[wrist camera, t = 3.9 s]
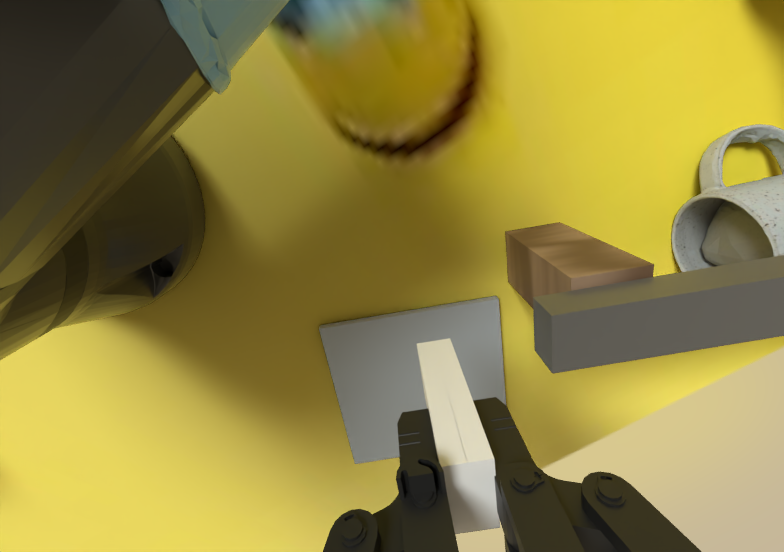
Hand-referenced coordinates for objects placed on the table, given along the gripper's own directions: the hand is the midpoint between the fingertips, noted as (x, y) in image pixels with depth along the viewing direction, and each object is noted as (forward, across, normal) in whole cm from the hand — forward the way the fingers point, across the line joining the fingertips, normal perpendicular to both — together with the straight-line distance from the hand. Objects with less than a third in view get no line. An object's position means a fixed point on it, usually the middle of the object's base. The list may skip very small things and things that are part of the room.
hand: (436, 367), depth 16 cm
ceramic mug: (+12, +23, +1) cm, 26 cm away
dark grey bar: (+2, +16, 0) cm, 16 cm away
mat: (+12, -1, -10) cm, 16 cm away
